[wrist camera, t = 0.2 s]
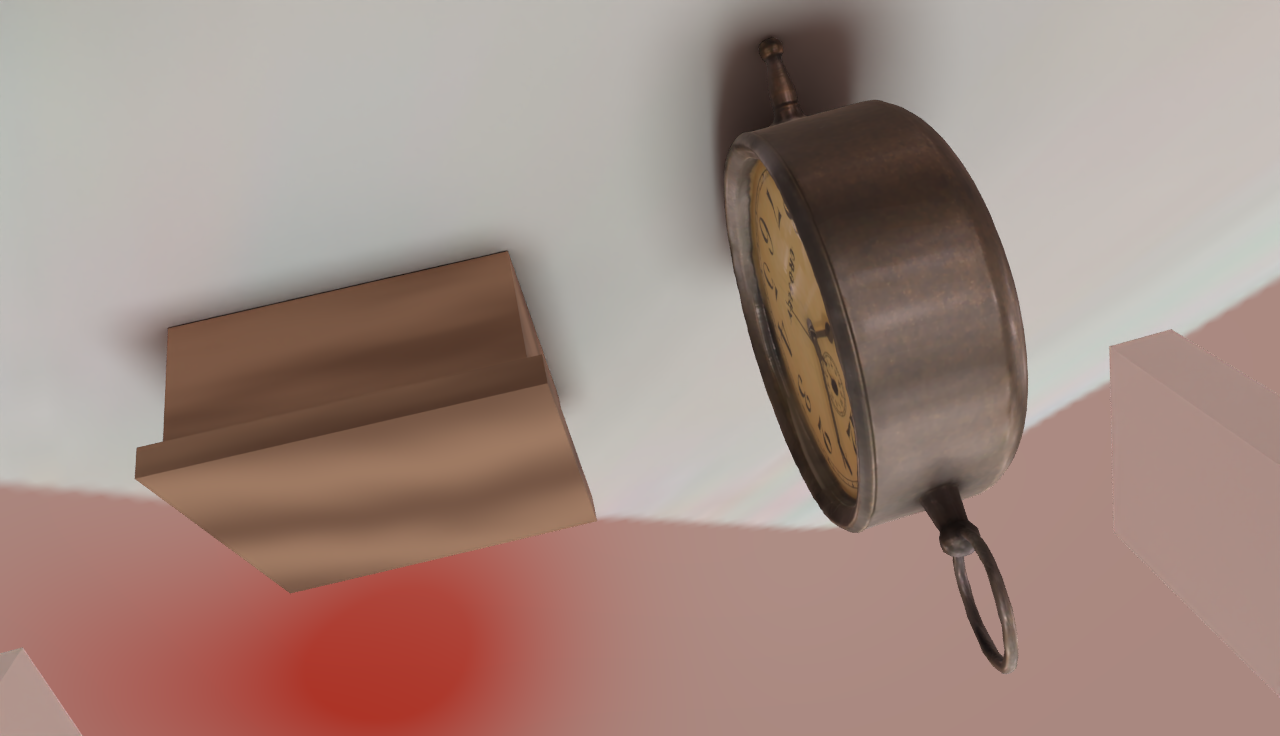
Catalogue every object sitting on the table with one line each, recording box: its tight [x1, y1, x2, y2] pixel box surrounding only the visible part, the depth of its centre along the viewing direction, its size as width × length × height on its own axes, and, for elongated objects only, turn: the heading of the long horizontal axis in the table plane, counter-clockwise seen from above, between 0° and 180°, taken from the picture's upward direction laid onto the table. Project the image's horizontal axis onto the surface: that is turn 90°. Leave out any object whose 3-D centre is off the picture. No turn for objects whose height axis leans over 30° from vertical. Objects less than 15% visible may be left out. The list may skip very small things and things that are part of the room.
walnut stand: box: [135, 251, 597, 593], centre depth 34 cm, size 11×12×5 cm
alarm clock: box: [724, 37, 1028, 674], centre depth 26 cm, size 11×5×16 cm, turn 6°
